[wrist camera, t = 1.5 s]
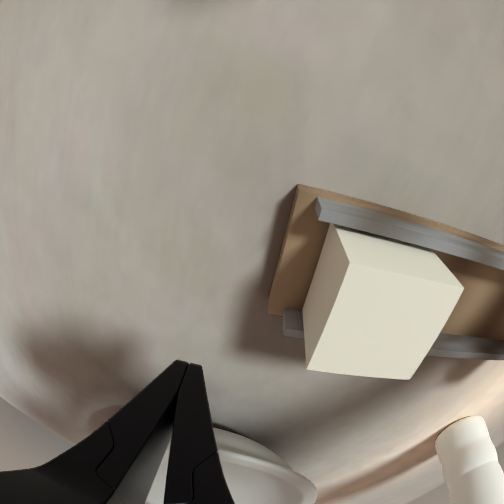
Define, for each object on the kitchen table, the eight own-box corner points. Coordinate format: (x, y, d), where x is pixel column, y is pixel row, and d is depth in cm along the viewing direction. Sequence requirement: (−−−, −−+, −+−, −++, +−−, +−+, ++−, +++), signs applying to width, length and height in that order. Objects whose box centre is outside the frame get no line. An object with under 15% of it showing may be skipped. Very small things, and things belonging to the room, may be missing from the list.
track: (550, 264, 18) (592, 304, 12) (511, 337, 21) (541, 383, 15) (297, 183, 17) (306, 224, 12) (267, 300, 21) (262, 371, 15)
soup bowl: (356, 450, 30) (362, 498, 24) (220, 493, 38) (215, 527, 32) (188, 342, 23) (165, 408, 18) (83, 419, 32) (64, 457, 26)
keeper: (425, 243, 16) (464, 288, 12) (388, 324, 19) (409, 379, 15) (331, 218, 16) (349, 262, 12) (302, 309, 19) (306, 369, 14)
